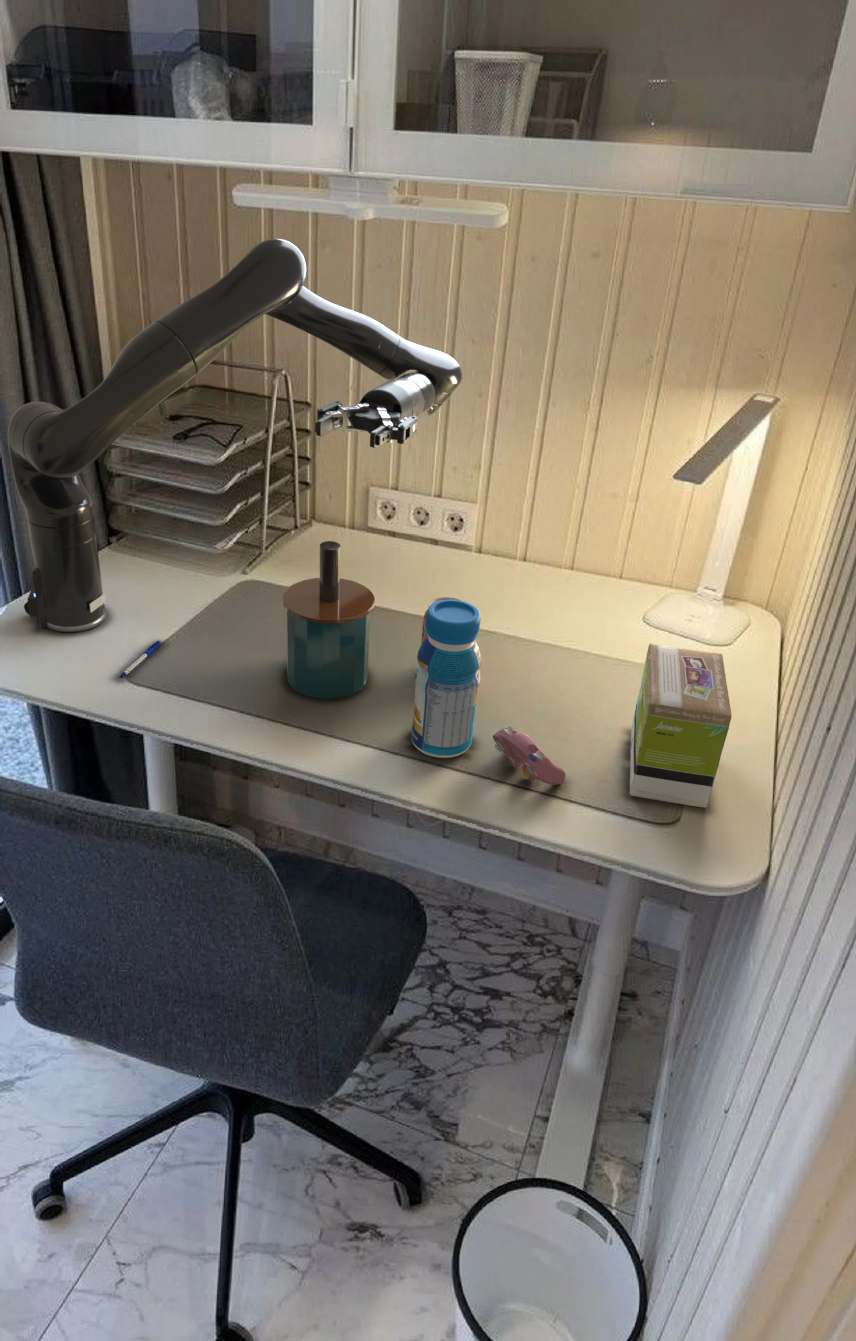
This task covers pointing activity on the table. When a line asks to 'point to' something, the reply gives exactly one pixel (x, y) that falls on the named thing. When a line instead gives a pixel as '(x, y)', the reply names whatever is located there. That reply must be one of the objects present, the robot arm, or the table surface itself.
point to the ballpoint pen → (141, 658)
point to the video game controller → (528, 756)
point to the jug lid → (329, 593)
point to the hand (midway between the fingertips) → (345, 434)
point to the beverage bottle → (447, 680)
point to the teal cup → (327, 657)
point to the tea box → (679, 725)
